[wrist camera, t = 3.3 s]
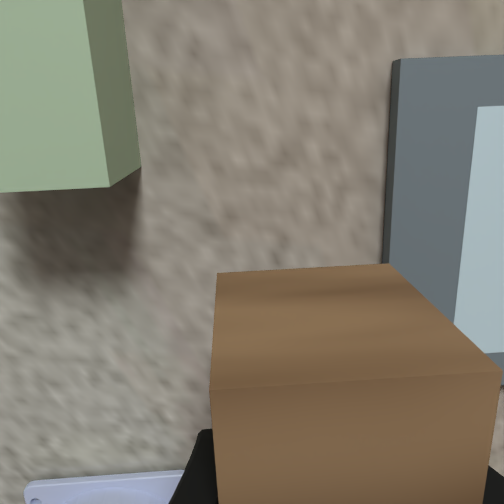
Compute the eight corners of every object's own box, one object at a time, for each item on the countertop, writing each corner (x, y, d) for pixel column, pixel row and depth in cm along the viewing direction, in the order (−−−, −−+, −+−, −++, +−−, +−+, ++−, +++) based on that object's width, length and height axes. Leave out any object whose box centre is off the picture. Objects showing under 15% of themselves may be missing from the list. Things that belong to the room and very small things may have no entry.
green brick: (142, 166, 17) (110, 186, 13) (25, 171, 17) (-52, 195, 12) (108, -110, 14) (51, -217, 10) (-31, -106, 14) (-158, -213, 10)
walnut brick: (373, 524, 14) (446, 731, 10) (235, 535, 14) (239, 751, 9) (389, 263, 11) (502, 370, 7) (217, 272, 11) (209, 390, 7)
